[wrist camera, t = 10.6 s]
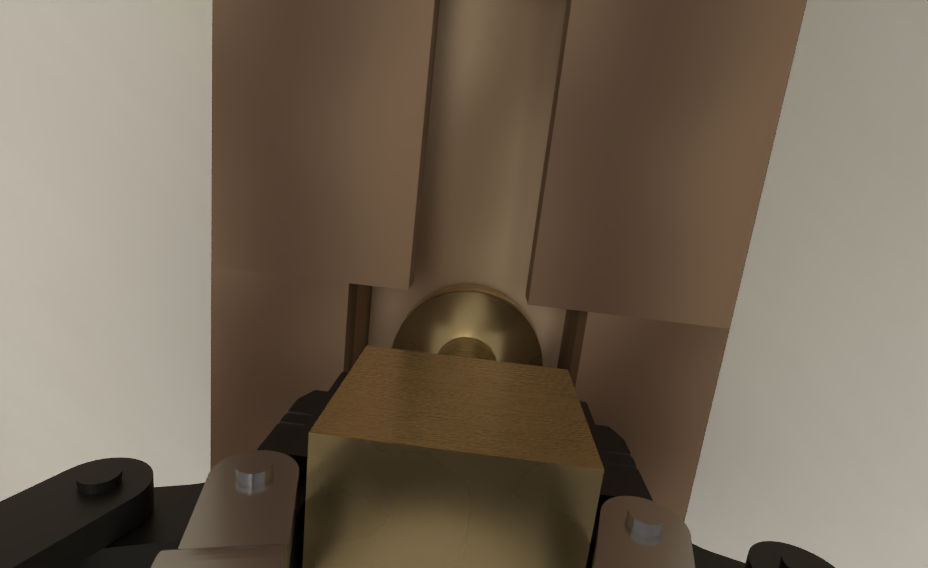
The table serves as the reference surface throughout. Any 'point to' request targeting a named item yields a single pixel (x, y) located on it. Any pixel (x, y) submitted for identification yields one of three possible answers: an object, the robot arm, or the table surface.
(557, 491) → the brass keyhole peg
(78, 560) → the robot arm
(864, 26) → the table surface
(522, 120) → the keyhole plate
